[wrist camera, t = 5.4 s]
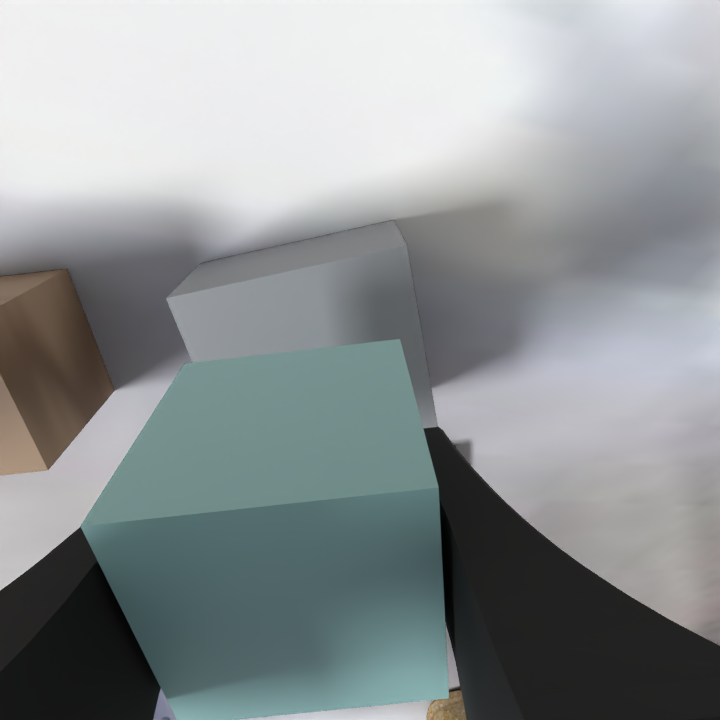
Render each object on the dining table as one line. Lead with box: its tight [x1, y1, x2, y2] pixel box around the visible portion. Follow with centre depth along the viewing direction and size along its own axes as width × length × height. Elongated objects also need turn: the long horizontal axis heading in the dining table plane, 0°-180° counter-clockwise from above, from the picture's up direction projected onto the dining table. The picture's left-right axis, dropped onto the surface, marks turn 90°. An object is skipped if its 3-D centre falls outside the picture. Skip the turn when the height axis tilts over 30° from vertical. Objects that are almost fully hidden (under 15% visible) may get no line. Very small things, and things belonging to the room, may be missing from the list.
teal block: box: [80, 339, 449, 720], centre depth 10 cm, size 5×5×5 cm
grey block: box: [166, 220, 438, 428], centre depth 17 cm, size 7×7×4 cm
